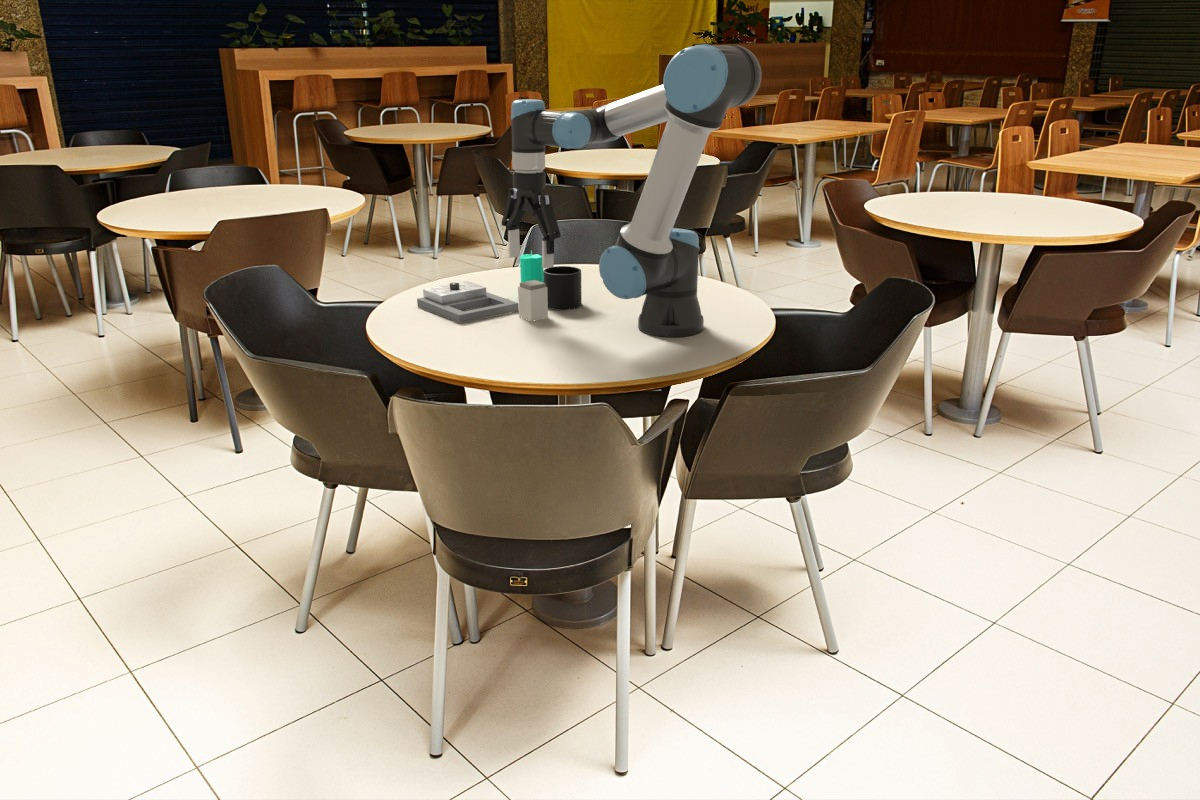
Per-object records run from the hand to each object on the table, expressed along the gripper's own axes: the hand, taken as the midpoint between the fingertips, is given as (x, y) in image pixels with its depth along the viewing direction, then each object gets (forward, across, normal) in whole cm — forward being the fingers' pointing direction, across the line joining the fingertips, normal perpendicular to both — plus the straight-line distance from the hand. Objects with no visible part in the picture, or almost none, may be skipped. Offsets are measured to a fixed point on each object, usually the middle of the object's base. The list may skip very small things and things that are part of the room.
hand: (530, 262), depth 220 cm
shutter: (+12, +22, +8) cm, 26 cm away
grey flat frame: (+14, +16, +8) cm, 23 cm away
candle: (+14, +16, -12) cm, 25 cm away
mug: (+14, +4, -13) cm, 19 cm away
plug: (+14, 0, 0) cm, 14 cm away
